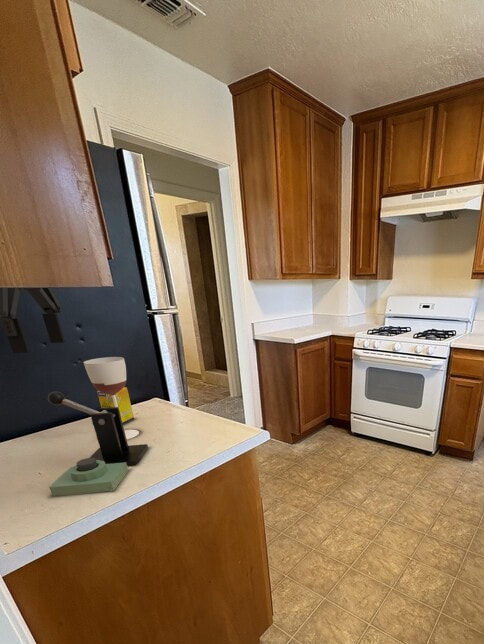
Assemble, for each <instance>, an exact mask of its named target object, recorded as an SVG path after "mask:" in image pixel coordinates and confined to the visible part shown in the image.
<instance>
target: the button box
mask: <svg viewBox="0 0 484 644" xmlns="http://www.w3.org/2000/svg"><path fill="white" fill-rule="evenodd" d="M96 462H97V465H98V467H97V468H95V469H93V470H89V471H83V472H79V471H78V468H77V465H74V466H70V467H69V468H68V469H67V470H65V472H63V474H61V475H60V476H59V477H58V478H57V479H56V480H55V481H54V482H53V483H52V484H51V485H50V486H49V492H50V494H51V496H52V497H59V496H70V495H81V494H93V493H103V492H114V491H115V490H116V488H117V487H118V486H119V484H120V483H121V482H122V480H123V479H124V477H125V476H126V475H127V473H128V471H129V468H128V467H129V466H127V464H126V462H125V463H113V464H105V462H104V461H101V460H96Z"/></svg>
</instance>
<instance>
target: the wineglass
mask: <svg viewBox="0 0 484 644" xmlns="http://www.w3.org/2000/svg"><path fill="white" fill-rule="evenodd" d="M83 365H84V368H85V371H86V374H87V376H88V378H89V381H90V383H91V384H92V386H93V387H94V389H95V390H97V391H100V392H103V393H106V394H110V395H112V399H113V403H114V407H118V405H117V401H116V397H115V394H116V393H117V392H119V391H120V390H122V389H123V388H124V387H125V386H126V385H127V366H126V361H125V358H124V357H123V356H108V357H107V356H105V357H98V358H92V359H87V360H84V361H83ZM124 431H125V435H126V439H127V440H129V439H130V440H131V439H133V438H135V437H137V436H138V435H140V431H139V430H136V429H124Z"/></svg>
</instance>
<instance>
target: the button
mask: <svg viewBox="0 0 484 644" xmlns="http://www.w3.org/2000/svg"><path fill="white" fill-rule="evenodd" d="M76 465H77V468H78V471H79V472H83V471H89V470H93V469H95V468H97V467H98V465H97V462H96V459H95V458H90V457H86V458H82V459H80V460H78V461H77V462H76ZM76 465H75V466H76Z"/></svg>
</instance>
